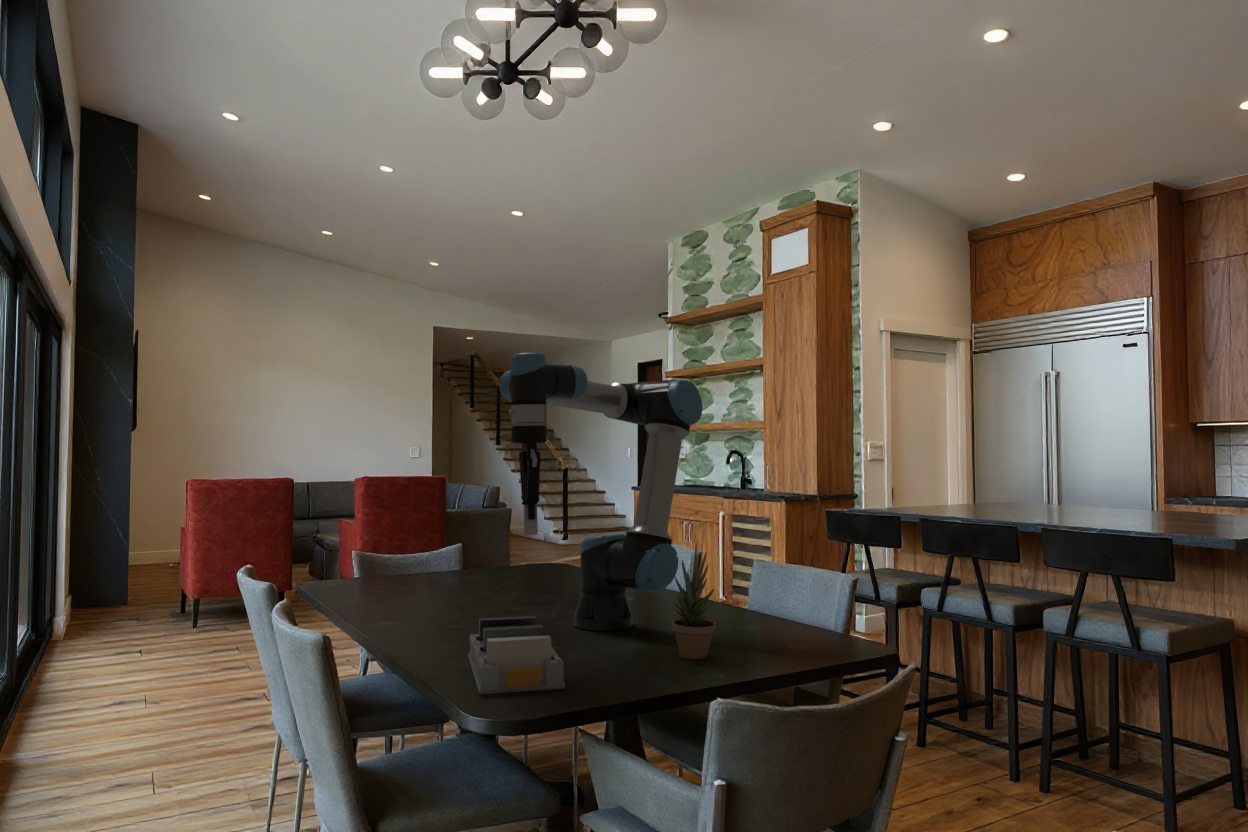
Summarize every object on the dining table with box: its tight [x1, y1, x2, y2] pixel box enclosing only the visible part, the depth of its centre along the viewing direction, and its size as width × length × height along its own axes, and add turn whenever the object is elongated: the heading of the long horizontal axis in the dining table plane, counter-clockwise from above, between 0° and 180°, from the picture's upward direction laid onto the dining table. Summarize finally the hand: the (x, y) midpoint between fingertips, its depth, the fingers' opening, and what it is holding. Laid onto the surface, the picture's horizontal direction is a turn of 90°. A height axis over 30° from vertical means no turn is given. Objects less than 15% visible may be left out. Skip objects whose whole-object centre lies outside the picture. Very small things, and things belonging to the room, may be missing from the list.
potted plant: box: [671, 542, 716, 660], centre depth 183 cm, size 10×10×25 cm
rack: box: [467, 615, 566, 695], centre depth 169 cm, size 29×16×9 cm, turn 14°
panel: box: [487, 634, 552, 684], centre depth 159 cm, size 3×12×8 cm, turn 105°
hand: (530, 534), depth 179 cm, fingers closed
